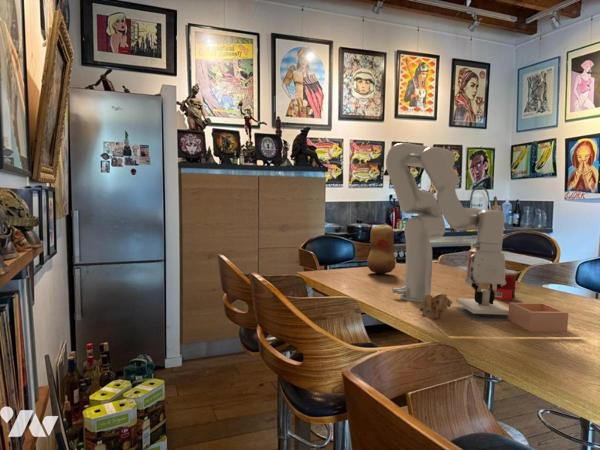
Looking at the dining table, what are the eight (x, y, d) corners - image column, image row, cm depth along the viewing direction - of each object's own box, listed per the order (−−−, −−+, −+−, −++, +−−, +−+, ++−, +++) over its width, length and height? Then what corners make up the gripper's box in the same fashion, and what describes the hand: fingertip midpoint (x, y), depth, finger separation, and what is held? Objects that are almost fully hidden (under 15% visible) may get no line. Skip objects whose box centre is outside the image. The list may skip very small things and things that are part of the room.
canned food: (517, 303, 148) (518, 273, 148) (494, 301, 150) (495, 272, 149) (510, 298, 156) (512, 270, 155) (488, 296, 157) (490, 269, 157)
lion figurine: (453, 324, 121) (455, 295, 120) (438, 325, 120) (439, 296, 119) (426, 311, 135) (427, 284, 135) (412, 312, 134) (413, 285, 133)
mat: (474, 322, 123) (474, 320, 123) (452, 308, 139) (452, 306, 139) (525, 323, 124) (525, 321, 124) (497, 308, 140) (497, 307, 140)
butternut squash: (366, 276, 196) (368, 225, 194) (366, 271, 209) (368, 223, 208) (395, 277, 194) (397, 226, 192) (393, 272, 207) (395, 224, 205)
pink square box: (529, 333, 114) (530, 312, 114) (508, 321, 125) (509, 302, 125) (567, 333, 114) (568, 312, 114) (542, 321, 125) (543, 302, 125)
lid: (473, 313, 125) (475, 294, 125) (455, 301, 138) (457, 284, 138) (513, 314, 126) (515, 296, 125) (492, 302, 139) (494, 285, 138)
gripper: (469, 248, 126) (464, 305, 128) (520, 250, 127) (514, 307, 129) (459, 245, 134) (454, 299, 135) (507, 247, 134) (502, 300, 136)
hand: (483, 302), depth 132 cm, fingers closed on lid, 3 cm apart
